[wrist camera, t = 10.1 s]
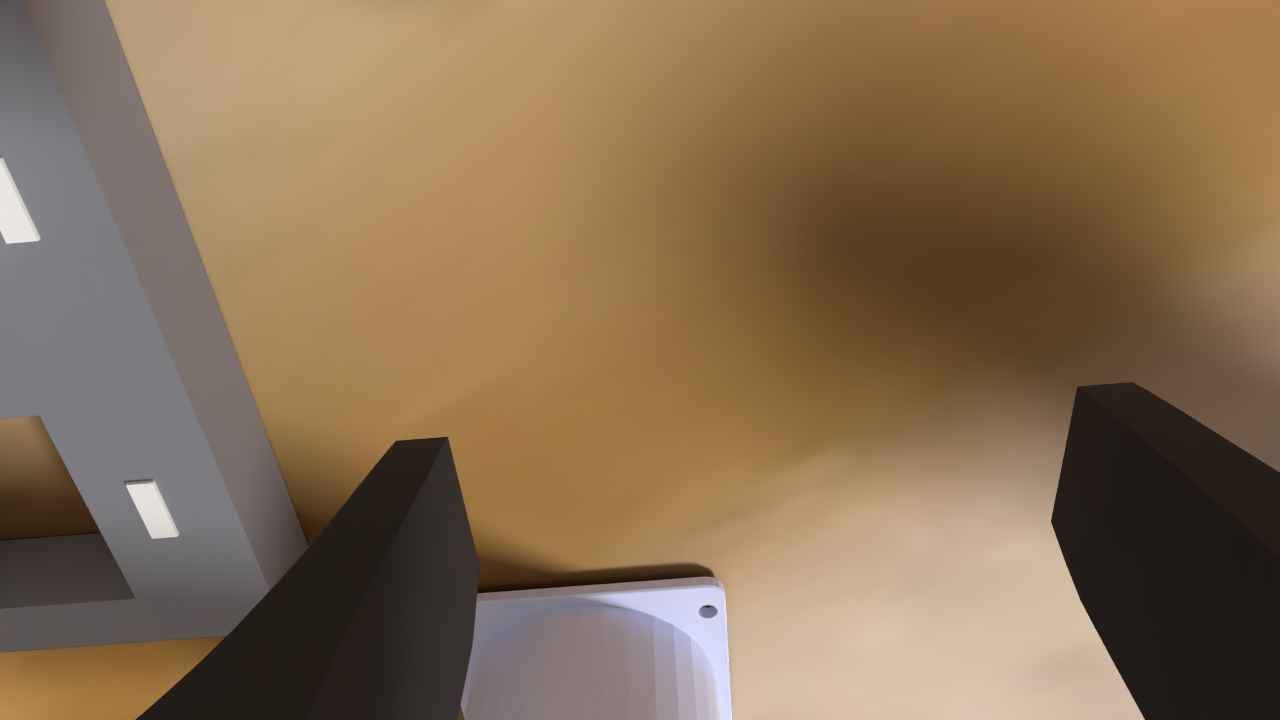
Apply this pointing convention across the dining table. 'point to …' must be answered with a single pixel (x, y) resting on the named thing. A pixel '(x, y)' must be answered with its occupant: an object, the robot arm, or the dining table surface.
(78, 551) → the port panel
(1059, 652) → the dining table surface
